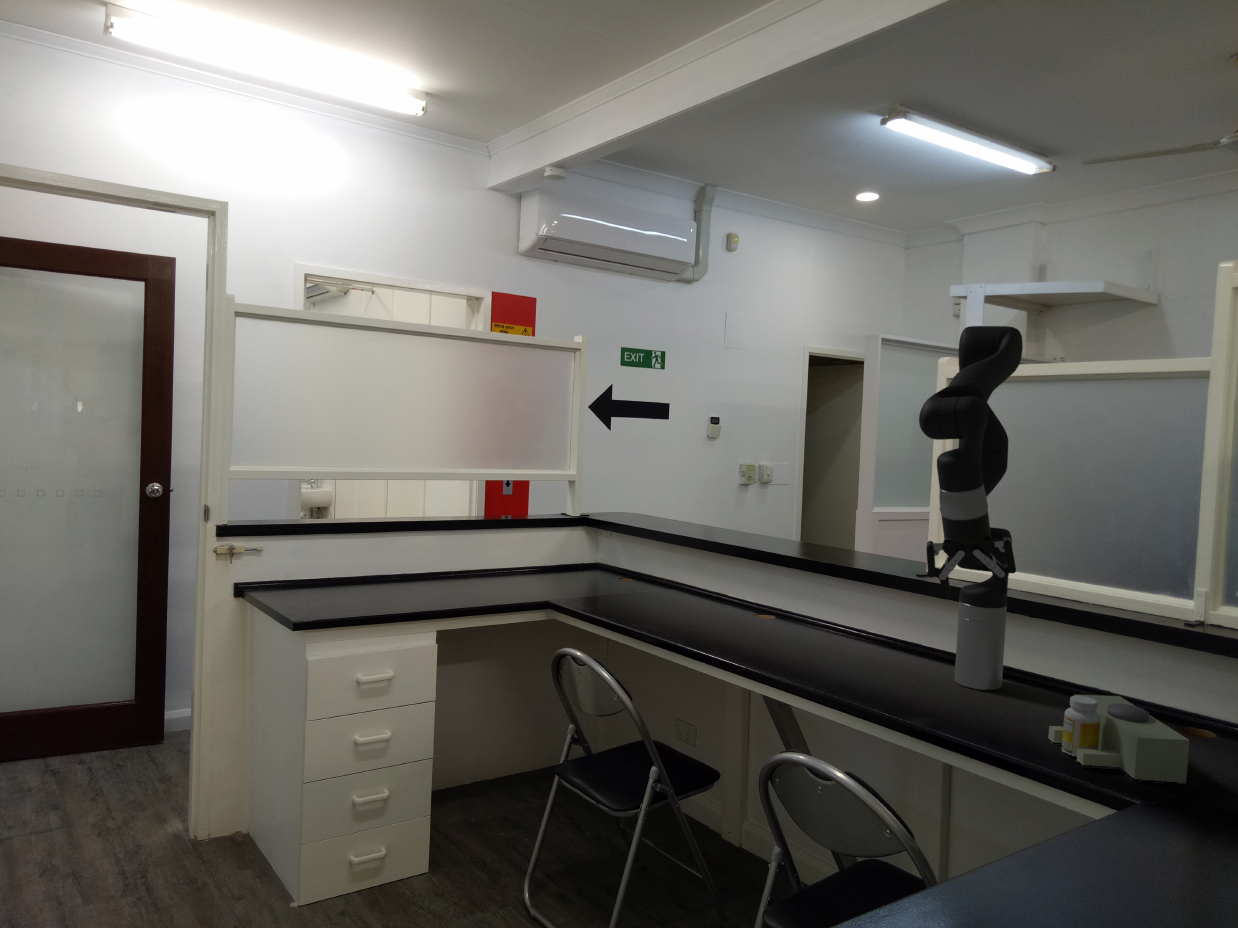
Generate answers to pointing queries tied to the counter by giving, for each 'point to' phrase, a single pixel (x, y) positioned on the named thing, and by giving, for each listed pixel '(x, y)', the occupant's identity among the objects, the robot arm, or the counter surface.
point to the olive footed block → (1133, 742)
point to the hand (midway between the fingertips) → (974, 595)
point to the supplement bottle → (1081, 725)
